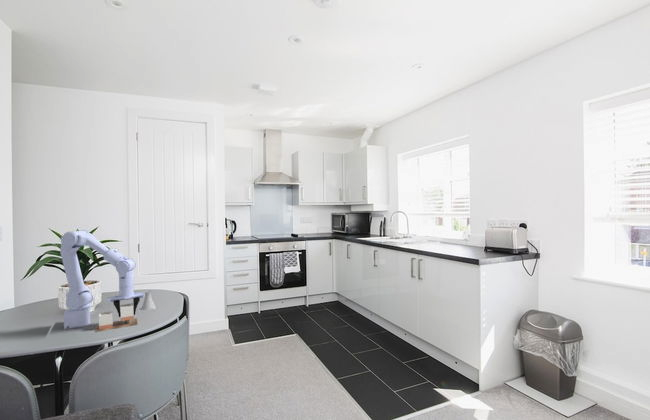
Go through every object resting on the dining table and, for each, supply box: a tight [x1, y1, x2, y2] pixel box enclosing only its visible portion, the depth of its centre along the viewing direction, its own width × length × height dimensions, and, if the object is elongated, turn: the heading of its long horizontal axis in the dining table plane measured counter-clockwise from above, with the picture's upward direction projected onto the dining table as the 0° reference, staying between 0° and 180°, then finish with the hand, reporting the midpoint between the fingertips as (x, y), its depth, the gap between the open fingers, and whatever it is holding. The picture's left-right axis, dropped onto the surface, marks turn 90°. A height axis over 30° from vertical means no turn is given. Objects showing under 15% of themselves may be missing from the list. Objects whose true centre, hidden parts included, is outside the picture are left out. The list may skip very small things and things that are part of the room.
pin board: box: [94, 317, 138, 333], centre depth 148 cm, size 16×10×6 cm, turn 122°
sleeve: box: [120, 302, 135, 321], centre depth 150 cm, size 5×5×6 cm
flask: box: [140, 290, 157, 311], centre depth 172 cm, size 7×7×10 cm
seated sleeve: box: [98, 310, 114, 330], centre depth 146 cm, size 5×5×6 cm
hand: (127, 315), depth 150 cm, fingers closed on sleeve, 5 cm apart
